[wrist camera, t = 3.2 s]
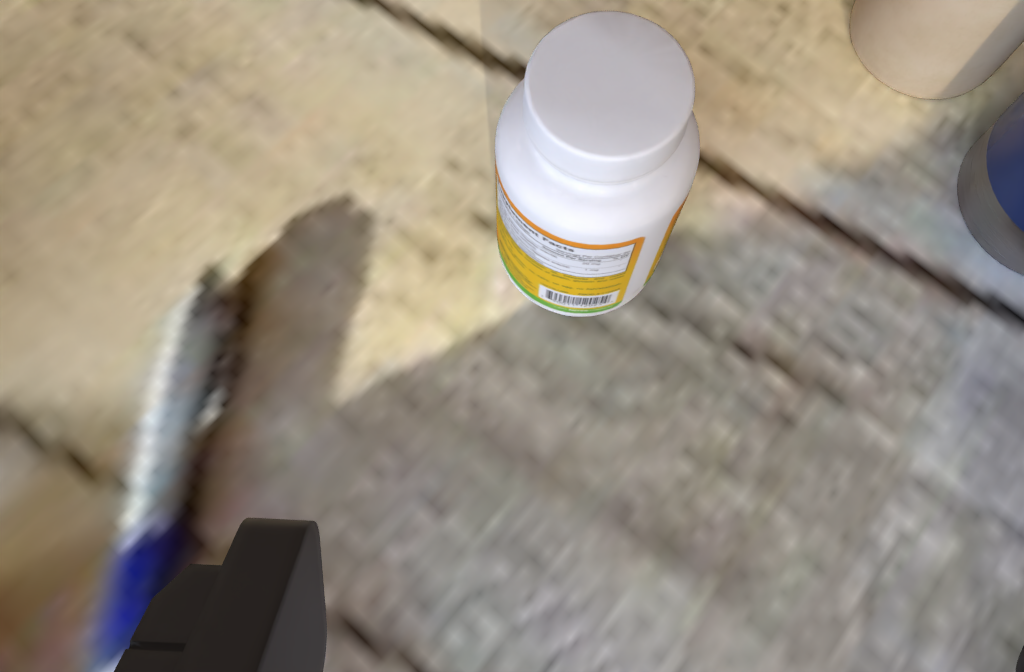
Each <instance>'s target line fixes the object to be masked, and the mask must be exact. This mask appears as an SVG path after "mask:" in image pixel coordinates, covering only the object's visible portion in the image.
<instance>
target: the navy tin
mask: <svg viewBox="0 0 1024 672" xmlns="http://www.w3.org/2000/svg"><path fill="white" fill-rule="evenodd" d="M957 187H958V200H959V206H960V209H961V212H962V215H963V218H964V220H965V222H966V224H967V226H968V228H969V230H970V231H971V233H972V235H973V236H974V238H975V239H976V240H977V241H978V243H979V244H980V245H981V246H982V247H983V248H984V249H985V250H986V251H987V252H988V253H989V254H990V255H991V256H992V257H994V258H995V259H996V260H997V261H999V262H1000V263H1002V264H1003V265H1005V266H1006V267H1008V268H1010V269H1012V270H1014V271H1016V272H1018V273H1020V274H1022V275H1024V92H1023V93H1022V94H1021V95H1020V96H1019V97H1018V98H1017V99H1016V100H1015V101H1014V102H1013V103H1012V104H1011V105H1010V106H1009V107H1008V108H1007V109H1006V110H1005V111H1004V112H1003V113H1002V115H1001V116H1000V117H999V119H998V120H997V122H996V123H995V124H993V125H992V126H991V127H990V128H989V129H988V130H987V131H986V132H985V133H984V134H983V135H982V136H981V137H980V138H979V139H978V140H977V141H976V143H975V144H974V145H973V146H972V147H971V148H970V150H969V151H968V153H967V154H966V156H965V158H964V160H963V162H962V165H961V168H960V172H959V176H958V185H957Z"/></svg>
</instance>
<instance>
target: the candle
mask: <svg viewBox="0 0 1024 672" xmlns="http://www.w3.org/2000/svg"><path fill="white" fill-rule="evenodd" d="M850 35H851V40H852V43H853V46H854V49H855V51H856V53H857V55H858V57H859V59H860V60H861V62H862V63H863V64H864V66H865V67H866V68H867V69H868V70H869V72H870V73H871V74H872V75H874V76H875V77H876V78H877V79H878V80H880V81H881V82H882V83H884V84H885V85H887V86H889V87H890V88H892V89H894V90H896V91H898V92H901V93H903V94H906V95H910V96H913V97H918V98H923V99H946V98H952V97H956V96H959V95H962V94H965V93H967V92H969V91H971V90H973V89H974V88H976V87H977V86H979V85H980V84H982V83H983V82H985V81H986V80H987V79H988V78H989V77H990V76H991V75H992V74H993V73H994V72H995V71H996V70H997V69H998V68H999V67H1000V66H1001V65H1002V64H1003V63H1004V62H1005V61H1006V60H1007V59H1008V58H1009V56H1010V55H1011V54H1012V53H1013V52H1014V51H1015V50H1016V49H1017V48H1018V47H1019V45H1020V44H1021V43H1022V42H1023V41H1024V0H855V3H854V6H853V9H852V13H851V17H850Z"/></svg>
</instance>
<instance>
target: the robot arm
mask: <svg viewBox="0 0 1024 672" xmlns="http://www.w3.org/2000/svg"><path fill="white" fill-rule="evenodd" d="M326 640H327V621H326V608H325V596H324V584H323V572H322V560H321V548H320V536H319V530H318V526H317V523H316V522H315V521H306V520H286V519H265V518H246V519H245V520H244V521H243V522H242V523H241V525H240V527H239V529H238V531H237V533H236V535H235V537H234V540H233V542H232V544H231V546H230V549H229V551H228V553H227V555H226V557H225V560H224V562H223V564H222V566H221V565H201V564H190V565H189V566H188V567H187V568H186V569H184V570H183V571H182V572H181V573H180V574H179V575H178V576H177V577H176V578H175V579H173V580H172V581H171V582H170V583H169V584H168V585H167V586H166V587H165V588H163V589H162V590H161V591H160V592H159V593H158V594H157V595H156V596H155V597H154V598H152V600H151V602H150V604H149V606H148V608H147V610H146V612H145V613H144V615H143V617H142V619H141V621H140V623H139V625H138V627H137V629H136V631H135V632H134V634H133V636H132V638H131V640H130V647H129V649H126V650H125V652H124V653H123V655H122V657H121V659H120V661H119V663H118V665H117V667H116V669H115V671H114V672H323V667H324V661H325V652H326ZM1016 672H1024V646H1023V649H1022V651H1021V653H1020V656H1019V658H1018V662H1017V666H1016Z"/></svg>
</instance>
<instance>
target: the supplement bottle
mask: <svg viewBox="0 0 1024 672" xmlns="http://www.w3.org/2000/svg"><path fill="white" fill-rule="evenodd" d="M694 99H695V78H694V74H693V70H692V67H691V64H690V61H689V59H688V57H687V55H686V53H685V52H684V50H683V49H682V47H681V46H680V44H679V43H678V42H677V40H675V39H674V37H673V36H672V35H670V34H669V33H668V32H667V31H666V30H664V29H663V28H662V27H660V26H659V25H657V24H656V23H654V22H652V21H650V20H648V19H646V18H643V17H640V16H637V15H634V14H631V13H626V12H618V11H596V12H590V13H586V14H582V15H579V16H575V17H573V18H570V19H568V20H566V21H565V22H563V23H561V24H559V25H558V26H556V27H555V28H553V29H552V30H551V31H550V32H549V33H548V34H547V35H546V36H545V37H544V38H542V40H541V41H540V42H539V44H538V45H537V46H536V48H535V50H534V51H533V53H532V55H531V57H530V60H529V62H528V65H527V69H526V73H525V78H524V79H523V80H522V81H521V82H520V83H519V84H518V85H517V86H516V88H515V89H514V90H513V92H512V93H511V94H510V96H509V98H508V99H507V101H506V103H505V105H504V107H503V109H502V112H501V114H500V118H499V121H498V125H497V129H496V138H495V168H496V201H497V206H496V208H497V240H498V248H499V253H500V257H501V261H502V263H503V266H504V268H505V270H506V272H507V274H508V276H509V278H510V279H511V281H512V282H513V284H514V285H515V286H516V287H517V289H518V290H519V291H520V292H521V293H522V294H523V295H524V296H526V297H527V298H528V299H529V300H531V301H532V302H534V303H535V304H537V305H539V306H541V307H543V308H545V309H547V310H550V311H552V312H555V313H559V314H563V315H568V316H579V317H581V316H594V315H599V314H604V313H607V312H609V311H612V310H615V309H617V308H619V307H621V306H622V305H624V304H626V303H627V302H629V301H630V300H631V299H633V298H634V297H635V296H636V295H637V294H638V293H639V292H640V291H641V290H642V289H643V288H644V287H645V285H646V284H647V282H648V281H649V279H650V278H651V276H652V274H653V272H654V271H655V269H656V267H657V264H658V262H659V260H660V257H661V255H662V252H663V250H664V248H665V245H666V243H667V241H668V239H669V236H670V234H671V232H672V229H673V227H674V225H675V223H676V220H677V218H678V216H679V214H680V211H681V209H682V207H683V205H684V203H685V201H686V198H687V196H688V194H689V191H690V189H691V186H692V183H693V180H694V177H695V174H696V171H697V167H698V162H699V155H700V139H699V131H698V126H697V122H696V119H695V116H694V114H693V111H692V108H693V105H694Z"/></svg>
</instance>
